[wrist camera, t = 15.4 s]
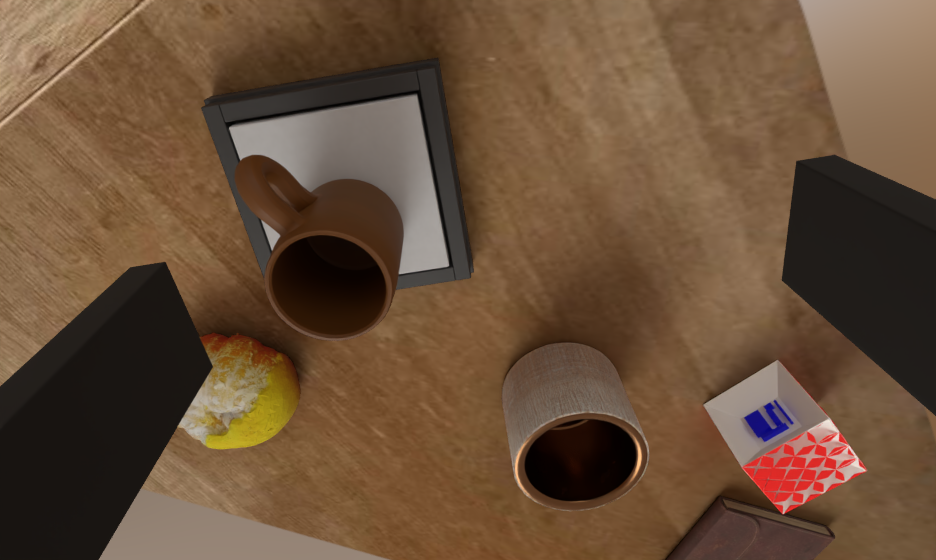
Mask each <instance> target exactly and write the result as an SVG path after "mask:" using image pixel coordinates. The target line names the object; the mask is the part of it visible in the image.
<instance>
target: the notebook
mask: <svg viewBox="0 0 936 560" xmlns="http://www.w3.org/2000/svg"><path fill="white" fill-rule="evenodd" d="M834 539H835V535H834V533H833V532H832V531H831V530H830V529H829V528H828V527H827V526H825V525H822V524H818V523H814V522H811V521H807V520H804V519H800V518H797V517H793V516H789V515H786V514H782V513H779V512H775V511H772V510H768V509H765V508H761V507H757V506H754V505H750V504H747V503H743V502H740V501H736V500H733V499H729V498H725V497H722V496H719V498H718V499H717V500H716V501H715V502H714V503H713V505H712V506H711V507H710V508H709V509H708V511H707V512H706V513H705V514H704V515H703V517H702V518H701V519H700V520H699V521H698V522H697V524H696V525H695V526H694V527H693V528H692V530H691V531H690V532H689V533H688V534H687V535H686V537H685V538H684V539H683V540H682V541H681V543H680V544H679V545H678V546H677V547H676V548H675V550H674V551H673V552H672V553H671V554H670V556H669V557H668V558H667V559H666V560H813V559H814V558H815V557H816V556H817V555H818V554H819V553H820V552H822V551H823V550H824V549H825V548H826V547H827V546H828V545H829V544H830V543H831V542H832V541H833V540H834Z"/></svg>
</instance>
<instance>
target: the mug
mask: <svg viewBox="0 0 936 560" xmlns="http://www.w3.org/2000/svg"><path fill="white" fill-rule="evenodd" d="M235 183H236V187H237V190H238V192H239V194H240V196H241V197H242V199H243V200H244V202H245V203H246V205H247V206H248V207H249V208H250V210H251V211H252V212H253V213H254V214H255V215H256V216H257V217H258V218H260V219H261V220H262V221H263V222H265V223H266V224H267V225H268V226H270V227H271V228H272V229H274V230H275V231H276V232H277V233H278V234H279V235H280V237H279V239H278V240H277V242H276V244H275V246H274V248H273V250H272V253H271V256H270V258H269V260H268V262H267V265H266V269H265V275H264V283H265V290H266V293H267V296H268V299H269V301H270V303H271V305H272V307H273V309H274V310H275V312H276V313H277V314H278V315H279V317H280V318H281V319H282V320H283V321H284V322H285V323H286V324H288V325H289V326H290V327H292V328H293V329H295V330H297V331H298V332H300V333H302V334H305V335H307V336H310V337H313V338H316V339H321V340H329V341H340V340H347V339H352V338H355V337H358V336H361V335H363V334H365V333H367V332H368V331H370V330H371V329H373V328H374V327H375V326H377V325H378V324H379V323H380V322H381V321H382V319H383V318H384V317H385V315H386V314H387V312H388V310H389V308H390V306H391V303H392V299H393V297H394V294H395V290H396V287H397V282H398V276H399V269H400V263H401V255H402V247H403V239H404V227H403V222H402V218H401V215H400V213H399V211H398V209H397V207H396V205H395V204H394V202H393V201H392V200H391V198H390V197H389V196H388V195H387V194H386V193H384V192H383V191H382V190H380V189H379V188H378V187H376V186H374V185H372V184H370V183H367V182H364V181H361V180H356V179H338V180H333V181H330V182H327V183H325V184H322V185H321V186H319V187H317V188H316V189H314V190H313V191H312V192H309V191H308V190H307V189H305V188H304V187H303V186H302V185H301V184H300V183H299V182H298V181H297V180H296V179H295V177H294V176H293V175H292V174H291V173H290V172H289V171H288V170H287V169H286V168H285V167H283V166H282V165H281V164H279V163H278V162H276V161H275V160H273V159H271V158H269V157H266V156H264V155H250V156H247V157H245V158H242V160H241V161H240V162H239V163H238V165H237V166H236V169H235Z"/></svg>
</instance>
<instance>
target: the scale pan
mask: <svg viewBox="0 0 936 560" xmlns="http://www.w3.org/2000/svg"><path fill="white" fill-rule="evenodd" d="M229 130H230V133H231V135H232V138H233V141H234V144H235V147H236V150H237V153H238V155H239V158H240V161H241V160H242V158H245V157H247V156H250V155H264V156H266V157H269V158H271V159H273V160H275V161H276V162H278V163H279V164H281V165H282V166H283V167H285V168H286V169H287V170H288V171H289V172H290V173H291V174H292V175H293V176H294V177H295V179H296V180H297V181H298V182H299V183H300V184H301V185H302V186H303V187H304V188H305V189H307V190H308V191H309V192H312V191H313V190H314V189H316V188H317V187H319V186H321V185H322V184H325V183H327V182H330V181H333V180H338V179H356V180H361V181H364V182H367V183H370V184H372V185H374V186H376V187H378V188H379V189H380V190H382V191H383V192H384V193H386V194H387V195H388V196H389V197H390V198H391V200H392V201H393V202H394V204H395V205H396V207H397V209H398V211H399V213H400V215H401V218H402V222H403V227H404V239H403V247H402V255H401V263H400V269H399V274H404V273H410V272H417V271H423V270H430V269H436V268H442V267H448V266H449V254H448V249H447V244H446V238H445V233H444V228H443V223H442V217H441V212H440V207H439V201H438V196H437V191H436V186H435V180H434V175H433V170H432V164H431V159H430V154H429V149H428V143H427V138H426V133H425V127H424V122H423V117H422V112H421V106H420V101H419V96H418V92H413V93H407V94H401V95H395V96H389V97H384V98H378V99H372V100H366V101H360V102H354V103H348V104H342V105H336V106H330V107H324V108H318V109H312V110H306V111H300V112H294V113H288V114H282V115H277V116H271V117H265V118H259V119H253V120H247V121H241V122H236V123H235V124H233V125H232V126H230V127H229ZM261 221H262V220H261ZM262 224H263V226H264V229H265V232H266V235H267V238H268V241H269V243H270V246H271V249H272V250H273V248H274V246H275V244H276V242H277V240H278V239H279V237H280V235H279V234H278V233H277V232H276V231H275V230H274V229H272V228H271V227H270V226H268V225H267V224H266V223H265V222H263V221H262Z"/></svg>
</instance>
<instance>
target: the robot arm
mask: <svg viewBox="0 0 936 560" xmlns="http://www.w3.org/2000/svg"><path fill="white" fill-rule="evenodd" d="M782 281H783V282H784V283H785V284H787V285H788V286H789V287H790V288H791V289H792V290H793V291H794V292H796V293H797V294H798V295H799V296H800V297H801V298H802V299H804V300H805V301H806V302H807V303H808V304H809V305H810V306H811V307H813V308H814V309H815V310H816V311H817V312H818V313H819V314H821V315H822V316H823V317H824V318H825V319H826V320H827V321H828V322H830V323H831V324H832V325H833V326H834V327H835V328H836V329H838V330H839V331H840V332H841V333H842V334H843V335H844V336H846V337H847V338H848V339H849V340H850V341H851V342H852V343H853V344H855V345H856V346H857V347H858V348H859V349H860V350H861V351H863V352H864V353H865V354H866V355H867V356H868V357H869V358H870V359H872V360H873V361H874V362H875V363H876V364H877V365H878V366H880V367H881V368H882V369H883V370H884V371H885V372H886V373H888V374H889V375H890V376H891V377H892V378H893V379H894V380H895V381H897V382H898V383H899V384H900V385H901V386H902V387H903V388H905V389H906V390H907V391H908V392H909V393H910V394H911V395H912V396H914V397H915V398H916V399H917V400H918V401H919V402H920V403H922V404H923V405H924V406H925V407H926V408H927V409H928V410H930V411H931V412H932V413H933V414H934V415H935V416H936V199H933V198H931V197H929V196H927V195H924V194H922V193H920V192H917V191H915V190H913V189H911V188H908V187H906V186H904V185H902V184H899V183H897V182H895V181H893V180H890V179H888V178H886V177H884V176H881V175H879V174H877V173H875V172H872V171H870V170H867V169H866V168H863V167H861V166H859V165H856V164H854V163H852V162H850V161H847V160H845V159H843V158H841V157H838V156H836V155H831V156H825V157H819V158H813V159H806V160H800V161H796V169H795V177H794V185H793V193H792V201H791V209H790V217H789V225H788V234H787V242H786V250H785V258H784V266H783V274H782ZM212 368H213V365H212V363H211V361H210V359H209V357H208V354H207V352H206V350H205V348H204V346H203V343H202V341H201V339H200V337H199V335H198V332H197V330H196V328H195V326H194V324H193V321H192V319H191V317H190V315H189V313H188V310H187V308H186V306H185V304H184V302H183V299H182V297H181V295H180V293H179V291H178V288H177V286H176V284H175V282H174V280H173V278H172V275H171V273H170V271H169V269H168V267H167V264H166V262H162V263H155V264H149V265H143V266H136V267H130V268H129V269H128V270H127V271H126V272H125V273H124V274H123V275H121V276H120V277H119V278H118V279H117V280H116V281H115V282H114V283H113V284H112V285H111V286H109V287H108V288H107V289H106V290H105V291H104V292H103V293H102V294H101V295H100V296H99V297H97V298H96V299H95V300H94V301H93V302H92V303H91V304H90V305H89V306H88V307H86V308H85V309H84V310H83V311H82V312H81V313H80V314H79V315H78V316H77V317H76V318H74V319H73V320H72V321H71V322H70V323H69V324H68V325H67V326H66V327H65V328H64V329H62V330H61V331H60V332H59V333H58V334H57V335H56V336H55V337H54V338H53V339H52V340H50V341H49V342H48V343H47V344H46V345H45V346H44V347H43V348H42V349H41V350H40V351H38V352H37V353H36V354H35V355H34V356H33V357H32V358H31V359H30V360H29V361H28V362H26V363H25V364H24V365H23V366H22V367H21V368H20V369H19V370H18V371H17V372H16V373H14V374H13V375H12V376H11V377H10V378H9V379H8V380H7V381H6V382H5V383H4V384H2V385H1V386H0V560H99V558H100V556H101V555H102V553H103V551H104V550H105V548H106V546H107V544H108V543H109V541H110V539H111V538H112V536H113V534H114V533H115V531H116V529H117V528H118V526H119V524H120V523H121V521H122V519H123V517H124V516H125V514H126V512H127V511H128V509H129V508H130V506H131V504H132V502H133V501H134V499H135V497H136V496H137V494H138V492H139V491H140V489H141V487H142V486H143V484H144V482H145V481H146V479H147V477H148V476H149V474H150V472H151V471H152V469H153V467H154V465H155V464H156V462H157V460H158V459H159V457H160V455H161V454H162V452H163V450H164V449H165V447H166V445H167V444H168V442H169V440H170V439H171V437H172V435H173V434H174V432H175V430H176V428H177V427H178V425H179V423H180V422H181V420H182V418H183V417H184V415H185V413H186V412H187V410H188V408H189V407H190V405H191V403H192V402H193V400H194V398H195V397H196V395H197V393H198V392H199V390H200V388H201V386H202V385H203V383H204V381H205V380H206V378H207V376H208V375H209V373H210V371H211V370H212Z"/></svg>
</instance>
